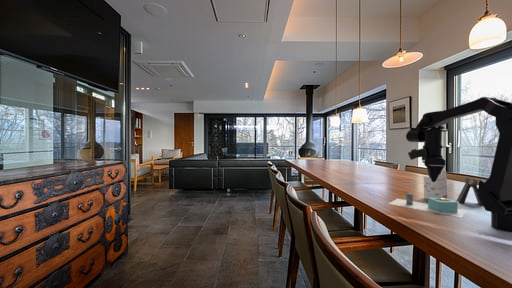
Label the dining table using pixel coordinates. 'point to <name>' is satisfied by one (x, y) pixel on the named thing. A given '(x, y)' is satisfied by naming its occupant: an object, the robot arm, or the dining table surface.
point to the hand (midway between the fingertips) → (432, 179)
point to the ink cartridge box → (436, 186)
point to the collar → (443, 205)
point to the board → (423, 206)
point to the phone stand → (466, 189)
